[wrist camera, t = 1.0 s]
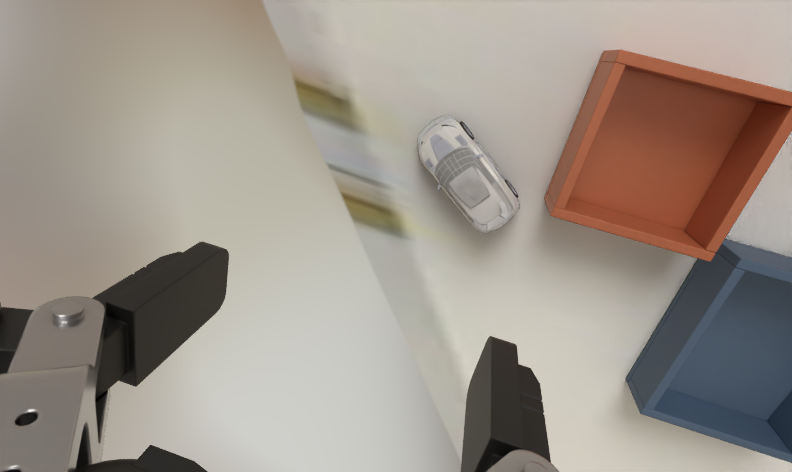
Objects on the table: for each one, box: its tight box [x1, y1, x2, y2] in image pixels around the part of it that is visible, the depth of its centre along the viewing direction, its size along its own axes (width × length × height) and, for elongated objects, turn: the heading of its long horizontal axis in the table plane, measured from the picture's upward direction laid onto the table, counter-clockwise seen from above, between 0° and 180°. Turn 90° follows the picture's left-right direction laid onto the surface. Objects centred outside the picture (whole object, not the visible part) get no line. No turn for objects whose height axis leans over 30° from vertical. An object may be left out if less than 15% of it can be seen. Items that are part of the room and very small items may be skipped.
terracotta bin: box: [544, 50, 792, 262], centre depth 24 cm, size 9×9×4 cm
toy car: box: [417, 116, 520, 233], centre depth 27 cm, size 4×8×3 cm, turn 40°
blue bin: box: [626, 239, 792, 463], centre depth 28 cm, size 12×10×4 cm
